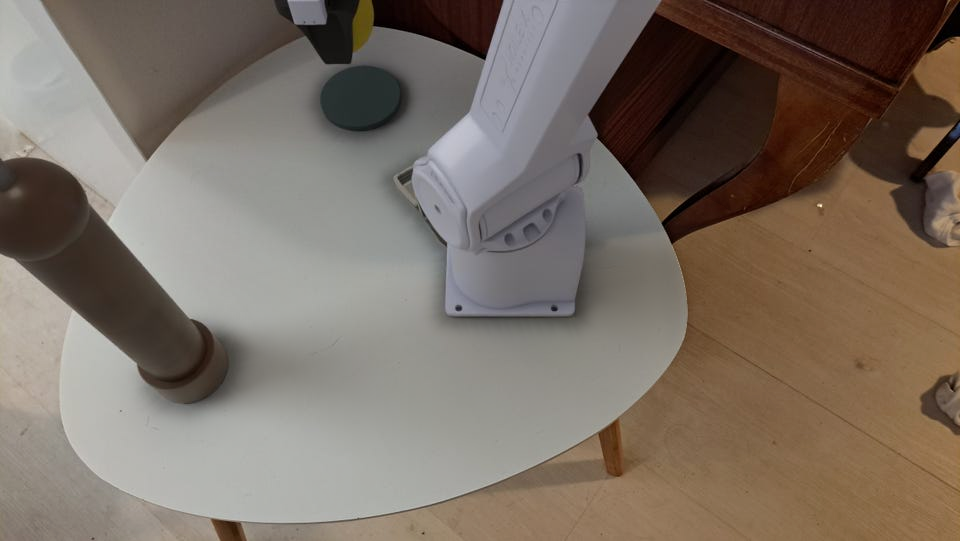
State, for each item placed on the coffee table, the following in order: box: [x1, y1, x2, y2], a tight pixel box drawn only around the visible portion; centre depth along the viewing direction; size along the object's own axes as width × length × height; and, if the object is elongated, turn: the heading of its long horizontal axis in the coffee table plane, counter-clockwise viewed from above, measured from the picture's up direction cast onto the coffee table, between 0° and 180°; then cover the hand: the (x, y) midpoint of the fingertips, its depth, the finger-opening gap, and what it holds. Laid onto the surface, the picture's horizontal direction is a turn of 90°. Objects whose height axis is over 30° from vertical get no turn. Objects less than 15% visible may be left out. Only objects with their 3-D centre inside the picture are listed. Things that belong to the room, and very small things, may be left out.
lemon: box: [353, 0, 375, 53], centre depth 54 cm, size 6×6×8 cm
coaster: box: [319, 65, 402, 132], centre depth 63 cm, size 7×7×1 cm
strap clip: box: [393, 163, 447, 250], centre depth 56 cm, size 8×3×4 cm, turn 36°
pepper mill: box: [0, 156, 229, 404], centre depth 41 cm, size 5×5×24 cm
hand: (342, 31), depth 56 cm, fingers closed on lemon, 5 cm apart
